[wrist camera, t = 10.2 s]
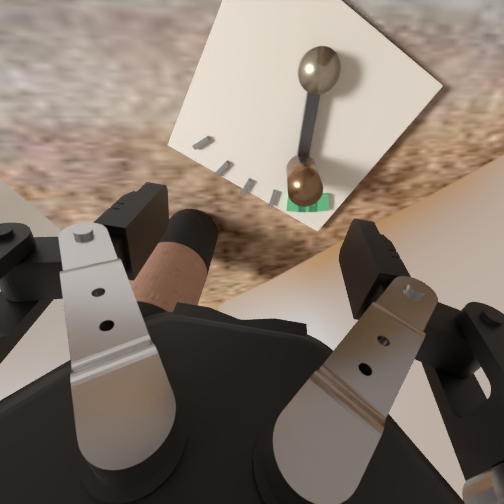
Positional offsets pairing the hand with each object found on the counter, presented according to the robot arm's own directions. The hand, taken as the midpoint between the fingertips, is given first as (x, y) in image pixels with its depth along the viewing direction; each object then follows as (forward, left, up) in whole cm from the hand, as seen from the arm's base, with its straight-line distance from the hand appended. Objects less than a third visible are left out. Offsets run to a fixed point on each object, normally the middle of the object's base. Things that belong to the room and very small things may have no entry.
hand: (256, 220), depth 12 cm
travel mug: (+18, -2, -23) cm, 29 cm away
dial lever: (-2, +4, -21) cm, 21 cm away
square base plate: (-2, +2, -23) cm, 23 cm away
